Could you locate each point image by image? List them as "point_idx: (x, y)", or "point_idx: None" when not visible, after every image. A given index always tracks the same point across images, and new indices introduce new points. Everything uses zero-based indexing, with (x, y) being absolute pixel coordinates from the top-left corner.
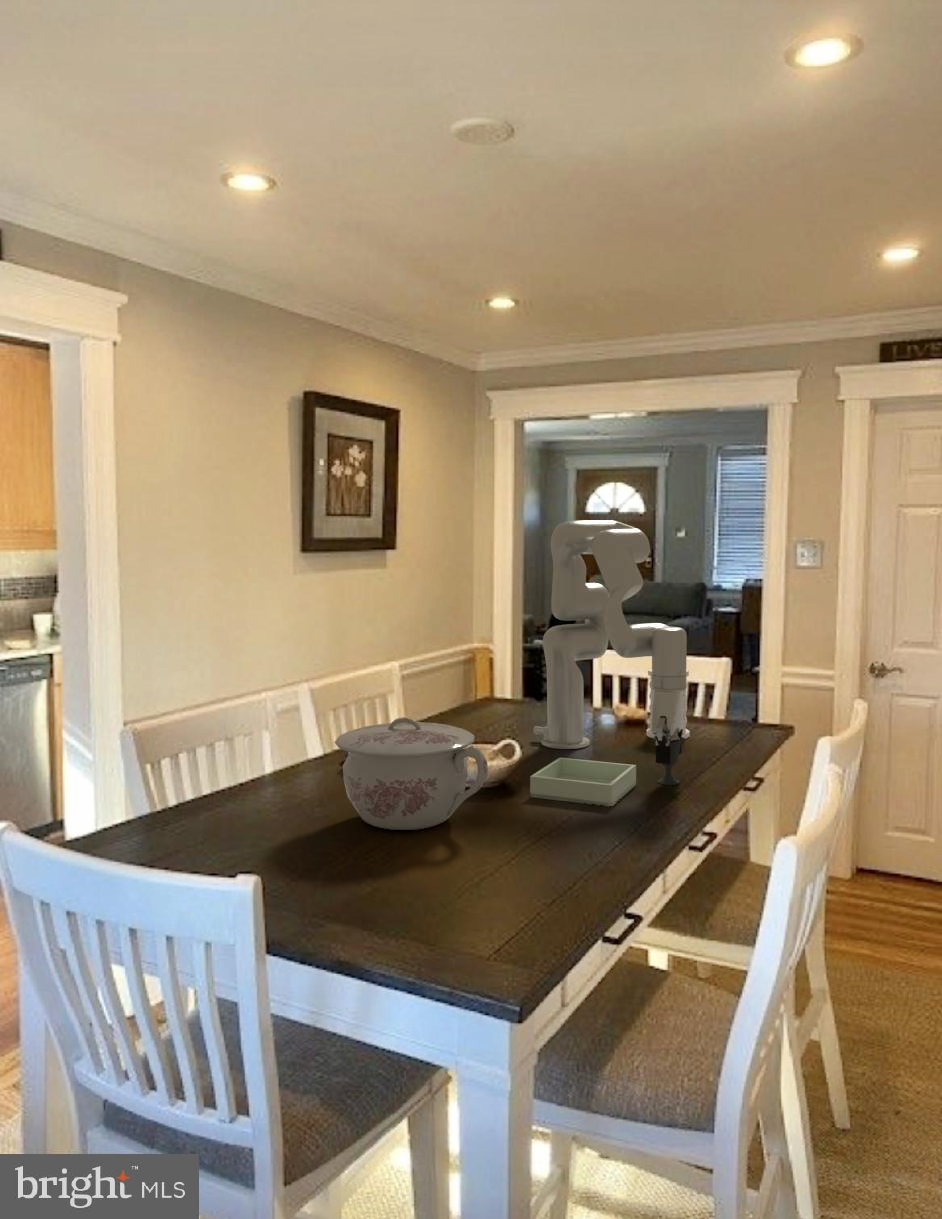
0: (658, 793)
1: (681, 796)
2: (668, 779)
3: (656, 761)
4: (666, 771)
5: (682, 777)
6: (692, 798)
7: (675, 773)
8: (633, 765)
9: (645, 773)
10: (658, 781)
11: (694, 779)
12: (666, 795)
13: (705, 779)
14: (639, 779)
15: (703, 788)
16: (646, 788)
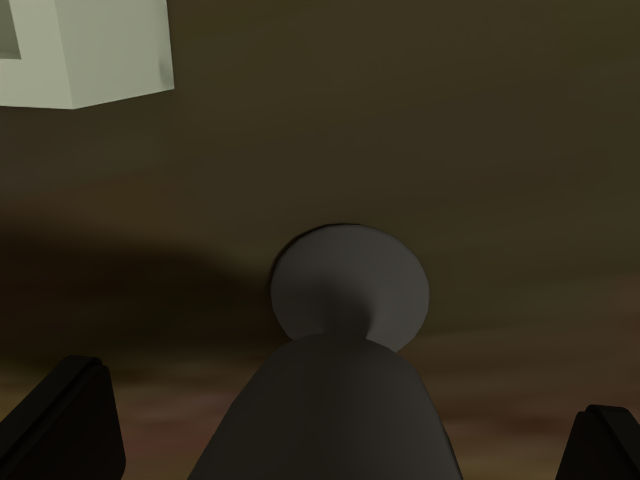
0: (66, 278)
1: None
2: (313, 316)
3: (64, 365)
4: (327, 332)
5: (516, 359)
6: None
7: (632, 304)
8: (42, 80)
9: (594, 71)
10: (313, 239)
11: (481, 426)
12: (54, 325)
13: (497, 475)
14: (362, 69)
15: None
16: (132, 184)
